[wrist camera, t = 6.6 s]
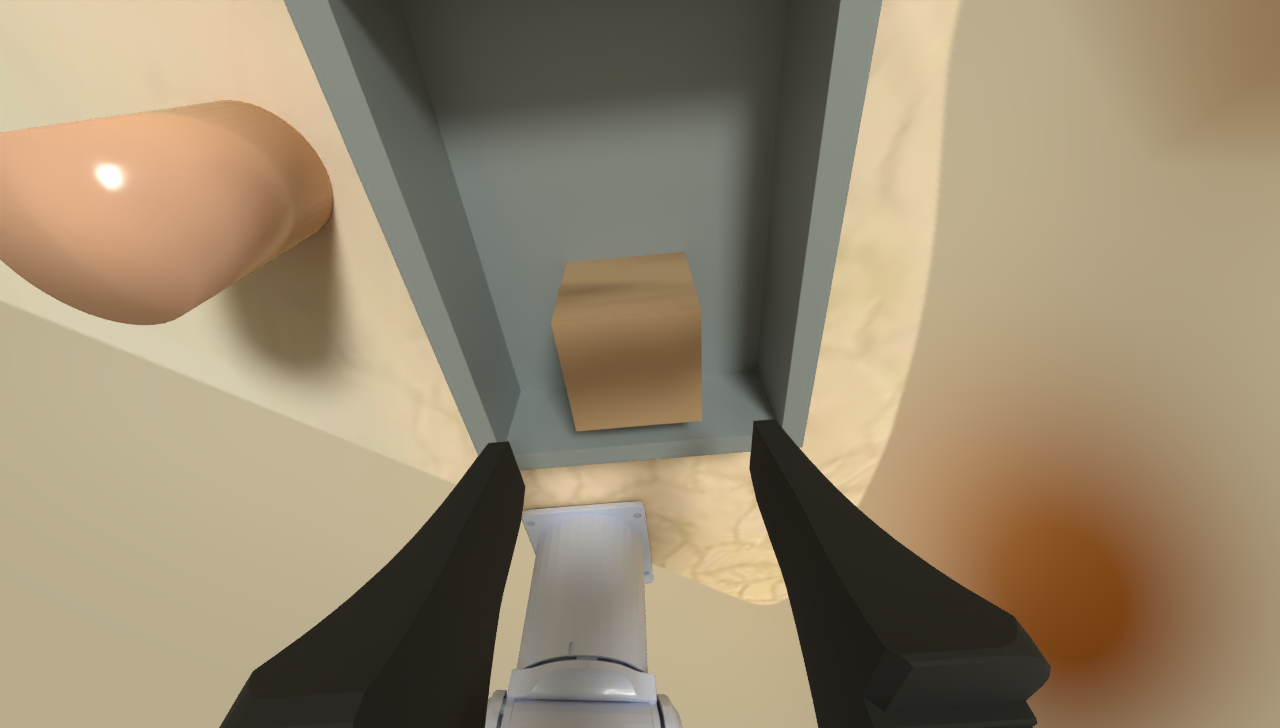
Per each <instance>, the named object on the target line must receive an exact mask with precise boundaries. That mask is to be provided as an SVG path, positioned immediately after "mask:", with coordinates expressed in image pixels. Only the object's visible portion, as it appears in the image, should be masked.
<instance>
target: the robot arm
mask: <svg viewBox="0 0 1280 728" xmlns="http://www.w3.org/2000/svg"><path fill="white" fill-rule="evenodd" d="M749 469H750V473H751V478H752V482H753V487H754V491H755V496H756V500H757V503H758V506H759V509H760V512H761V515H762V518H763V521H764V524H765V526H766V529H767V532H768V535H769V538H770V541H771V543H772V546H773V549H774V552H775V555H776V558H777V561H778V563H779V566H780V569H781V572H782V575H783V578H784V582H785V585H786V588H787V592H788V596H789V600H790V604H791V608H792V612H793V616H794V620H795V624H796V628H797V632H798V637H799V641H800V645H801V650H802V654H803V658H804V662H805V667H806V671H807V676H808V680H809V685H810V689H811V694H812V699H813V703H814V708H815V713H816V718H817V723H818V727H819V728H1033V727H1032V726H1035V725H1036V724H1037V720H1036V717H1035V716H1034V714H1033V712H1032V711H1031V709H1030V707H1029V706H1028V704H1027V702H1026V700H1027V699H1028V698H1029V697H1030V696H1032V695H1033V694H1034V693H1035V692H1036V691H1037V690H1038V689H1039V688H1040V687H1042V686H1043V684H1044V683H1045V682H1046V681H1047V680H1048V678H1049V676H1050V669H1051V667H1050V665H1049V664H1048V662H1047V661H1046V659H1045V658H1044V656H1043V655H1042V653H1041V652H1040V651H1039V649H1038V648H1037V646H1036V644H1035V643H1034V642H1033V640H1032V639H1031V637H1030V636H1029V635H1028V633H1027V632H1026V631H1025V630H1024V628H1022V626H1021V625H1020V624H1019V622H1018V621H1017V620H1016V618H1015V617H1014V616H1013V615H1010V614H1009V613H1008V612H1006V611H1004V610H1002V609H1001V608H999V607H997V606H996V605H994V604H992V603H990V602H989V601H987V600H985V599H984V598H982V597H980V596H979V595H977V594H975V593H973V592H972V591H970V590H968V589H966V588H965V587H963V586H962V585H960V584H959V583H957V582H956V581H954V580H952V579H951V578H949V577H948V576H946V575H945V574H943V573H942V572H940V571H939V570H937V569H936V568H934V567H932V566H931V565H930V564H928V563H927V562H926V561H924V560H923V559H922V558H920V557H919V556H917V555H916V554H914V553H913V552H912V551H910V550H909V549H907V548H906V547H905V546H903V545H902V544H901V543H899V542H898V541H897V540H895V539H894V538H893V537H892V536H890V535H889V534H888V533H887V532H885V531H884V530H883V529H882V528H880V527H879V526H878V525H877V524H876V523H874V522H873V521H872V520H871V519H869V518H868V517H867V516H866V515H865V514H864V513H863V512H862V511H860V510H859V509H858V508H857V507H856V506H855V505H854V504H853V503H852V502H850V501H849V500H848V499H847V498H846V497H845V496H844V495H843V494H842V493H841V492H840V491H839V490H838V489H837V488H836V487H835V486H834V485H833V484H832V483H831V482H830V481H829V480H828V479H827V478H826V477H825V476H824V475H823V474H822V473H821V472H820V471H819V469H818V468H817V467H816V466H815V465H814V464H813V463H812V462H811V461H810V460H809V459H808V457H807V456H806V455H805V454H804V453H803V452H802V451H801V449H800V448H799V447H798V446H797V445H796V444H795V442H794V441H793V440H792V439H791V438H790V436H789V435H788V434H787V433H786V431H785V430H784V429H783V428H782V426H781V425H780V424H779V423H778V422H777V421H776V420H775V419H769V420H757V421H753V432H752V444H751V456H750V468H749ZM524 493H525V485H524V482H523V479H522V476H521V473H520V471H519V468H518V465H517V462H516V459H515V457H514V454H513V451H512V448H511V446H510V443H509V441H505V442H493V443H488V444H487V445H486V447H485V448H484V449H483V451H482V452H481V453H480V455H479V456H478V457H477V459H476V460H475V461H474V463H473V464H472V465H471V467H470V468H469V469H468V471H467V472H466V473H465V475H464V476H463V477H462V479H461V480H460V481H459V483H458V484H457V485H456V487H455V488H454V489H453V491H452V492H451V493H450V494H449V496H448V497H447V498H446V500H445V501H444V502H443V503H442V504H441V506H440V507H439V508H438V509H437V510H436V512H435V513H434V514H433V515H432V516H431V517H430V518H429V520H428V521H427V522H426V523H425V524H424V525H423V527H422V528H421V529H420V530H419V531H418V532H417V534H416V535H415V536H414V537H413V538H412V539H411V540H410V541H409V542H408V543H407V544H406V545H405V546H404V547H403V549H402V550H401V551H400V552H399V553H398V554H397V555H396V556H395V557H394V558H393V559H392V560H391V561H390V562H389V563H388V564H387V565H386V566H385V567H383V568H382V569H381V570H380V571H379V572H378V573H377V574H376V575H375V576H374V577H373V578H371V579H370V580H369V581H368V582H367V583H366V584H365V585H364V586H363V587H361V588H360V589H359V590H358V591H357V592H356V593H355V594H354V595H353V596H351V597H350V598H349V599H348V600H347V601H346V602H344V603H343V604H342V605H341V606H339V607H338V608H337V609H336V610H335V611H333V612H332V613H331V614H330V615H328V616H327V617H326V618H325V619H323V620H322V621H321V622H320V623H318V624H317V625H316V626H315V627H313V628H312V629H311V630H309V631H308V632H307V633H305V634H304V635H303V636H301V637H300V638H299V639H297V640H296V641H295V642H293V643H292V644H290V645H289V646H288V647H286V648H285V649H284V650H282V651H281V652H279V653H278V654H277V655H275V656H274V657H272V658H271V659H270V660H268V661H267V662H266V663H264V664H263V665H261V666H260V667H258V668H257V669H255V670H254V671H253V672H252V674H251V675H250V677H249V679H248V680H247V682H246V684H245V685H244V687H243V689H242V690H241V692H240V694H239V695H238V697H237V699H236V700H235V702H234V704H233V705H232V707H231V709H230V711H229V712H228V714H227V716H226V717H225V719H224V721H223V723H222V724H221V726H220V727H219V728H683V727H682V723H681V719H680V716H679V714H678V712H677V710H676V709H675V708H674V706H673V705H672V703H671V701H670V699H669V698H668V697H667V696H666V695H664V694H657V693H656V675H655V674H653V673H648V669H647V642H646V617H645V590H644V584H648V583H651V582H652V581H653V570H652V562H651V554H650V546H649V538H648V531H647V523H646V515H645V507H644V504H643V503H642V502H639V501H632V502H619V503H606V504H594V505H581V506H568V507H556V508H543V509H530V510H525V511H524V512H523V513H522V511H523V503H524ZM521 518H522V521H523V524H524V526H525V529H526V531H527V534H528V536H529V539H530V541H531V544H532V547H533V549H534V552H535V554H536V559H535V565H534V570H533V576H532V582H531V588H530V594H529V600H528V605H527V611H526V618H525V623H524V629H523V635H522V641H521V647H520V652H519V658H518V664H517V669H513V670H512V673H511V679H510V684H509V689H508V695H507V691H506V690H496V691H495V692H494V693H493V695H492V697H490V698H489V699H488V695H489V685H490V676H491V668H492V661H493V653H494V646H495V639H496V632H497V625H498V619H499V612H500V606H501V602H502V596H503V592H504V588H505V584H506V580H507V576H508V572H509V568H510V564H511V560H512V556H513V552H514V548H515V544H516V540H517V536H518V531H519V527H520V523H521Z"/></svg>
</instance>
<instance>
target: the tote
mask: <svg viewBox="0 0 1280 728" xmlns="http://www.w3.org/2000/svg"><path fill="white" fill-rule="evenodd" d="M284 2H285V5H286V7H287V9H288V12H289V14H290V16H291V19H292V21H293V23H294V26H295V28H296V30H297V33H298V35H299V37H300V40H301V42H302V44H303V47H304V49H305V51H306V54H307V56H308V58H309V61H310V63H311V65H312V68H313V70H314V73H315V75H316V77H317V80H318V82H319V84H320V87H321V89H322V91H323V94H324V96H325V98H326V101H327V103H328V105H329V108H330V110H331V112H332V115H333V117H334V119H335V122H336V124H337V126H338V129H339V131H340V133H341V136H342V138H343V140H344V143H345V145H346V147H347V150H348V152H349V154H350V157H351V159H352V161H353V164H354V166H355V168H356V171H357V173H358V175H359V178H360V180H361V182H362V185H363V187H364V190H365V192H366V194H367V197H368V199H369V201H370V204H371V206H372V208H373V211H374V213H375V215H376V218H377V220H378V222H379V225H380V227H381V229H382V232H383V234H384V236H385V239H386V241H387V243H388V246H389V248H390V250H391V253H392V255H393V257H394V260H395V262H396V264H397V267H398V269H399V271H400V274H401V276H402V278H403V281H404V283H405V285H406V288H407V290H408V292H409V295H410V297H411V299H412V302H413V304H414V307H415V309H416V311H417V314H418V316H419V318H420V321H421V323H422V325H423V328H424V330H425V332H426V335H427V337H428V339H429V342H430V344H431V346H432V349H433V351H434V353H435V356H436V358H437V360H438V363H439V365H440V367H441V370H442V372H443V374H444V377H445V379H446V381H447V384H448V386H449V388H450V391H451V393H452V395H453V398H454V400H455V402H456V405H457V407H458V409H459V412H460V414H461V416H462V419H463V421H464V424H465V426H466V428H467V431H468V433H469V435H470V438H471V440H472V442H473V445H474V447H475V449H476V452H477V454H478V456H479V455H480V453H481V452H482V451H483V449H484V448H485V447H486V445H487V444H488V443H493V442H505V441H509V443H510V446H511V448H512V451H513V454H514V457H515V459H516V462H517V465H518V468H519V470H528V469H541V468H553V467H565V466H578V465H590V464H602V463H615V462H627V461H639V460H652V459H664V458H676V457H688V456H701V455H713V454H725V453H738V452H750V451H751V444H752V432H753V421H757V420H769V419H775V420H776V421H777V422H778V423H779V424H780V425H781V426H782V428H783V429H784V430H785V431H786V433H787V434H788V435H789V436H790V438H791V439H792V440H793V441H794V442H795V444H796V445H797V446H798V447H802V446H803V440H804V435H805V429H806V424H807V418H808V413H809V407H810V401H811V396H812V390H813V385H814V379H815V373H816V368H817V362H818V357H819V351H820V345H821V340H822V334H823V329H824V323H825V318H826V312H827V306H828V301H829V295H830V290H831V284H832V278H833V273H834V267H835V262H836V256H837V250H838V245H839V239H840V234H841V228H842V223H843V217H844V211H845V206H846V200H847V195H848V189H849V183H850V178H851V172H852V167H853V161H854V155H855V150H856V144H857V139H858V133H859V127H860V122H861V116H862V111H863V105H864V100H865V94H866V88H867V83H868V77H869V72H870V66H871V60H872V55H873V49H874V44H875V38H876V32H877V27H878V21H879V16H880V10H881V5H882V0H284ZM676 252H685V255H686V259H687V262H688V265H689V269H690V272H691V276H692V279H693V283H694V286H695V289H696V293H697V296H698V300H699V303H700V307H701V337H702V421H694V422H682V423H671V424H659V425H647V426H635V427H623V428H611V429H600V430H588V431H576V428H575V424H574V419H573V415H572V411H571V407H570V402H569V398H568V394H567V390H566V385H565V381H564V377H563V373H562V368H561V364H560V360H559V356H558V351H557V347H556V343H555V339H554V334H553V330H552V326H551V320H552V316H553V313H554V309H555V305H556V301H557V297H558V293H559V289H560V286H561V282H562V278H563V274H564V270H565V266H566V263H570V262H581V261H592V260H602V259H613V258H623V257H634V256H644V255H655V254H666V253H676Z"/></svg>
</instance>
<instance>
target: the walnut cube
mask: <svg viewBox="0 0 1280 728" xmlns="http://www.w3.org/2000/svg"><path fill="white" fill-rule="evenodd" d="M551 326H552V330H553V334H554V339H555V343H556V347H557V351H558V356H559V360H560V364H561V368H562V373H563V377H564V381H565V385H566V390H567V394H568V398H569V402H570V407H571V411H572V415H573V419H574V424H575V428H576V431H588V430H600V429H611V428H623V427H635V426H647V425H659V424H671V423H682V422H694V421H702V337H701V307H700V303H699V300H698V296H697V293H696V289H695V286H694V283H693V279H692V276H691V272H690V269H689V265H688V262H687V259H686V255H685V252H676V253H666V254H655V255H644V256H634V257H623V258H613V259H602V260H592V261H581V262H570V263H566V266H565V270H564V274H563V278H562V282H561V286H560V289H559V293H558V297H557V301H556V305H555V309H554V313H553V316H552V320H551Z"/></svg>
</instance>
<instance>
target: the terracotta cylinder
mask: <svg viewBox="0 0 1280 728" xmlns="http://www.w3.org/2000/svg"><path fill="white" fill-rule="evenodd" d="M332 207H333V191H332V186H331V182H330V178H329V176H328V173H327V171H326V169H325V167H324V165H323V163H322V161H321V159H320V158H319V156H318V155H317V153H316V152H315V150H314V149H313V148H312V147H311V145H310V144H309V143H308V142H307V141H306V140H305V138H304V137H303V136H302V135H301V134H300V133H299V132H297V131H296V130H295V129H294V128H293V127H292V126H291V125H289V124H288V123H286V122H285V121H284V120H282V119H281V118H279V117H278V116H276V115H274V114H273V113H271V112H269V111H267V110H265V109H263V108H260V107H258V106H255V105H252V104H249V103H245V102H241V101H232V100H225V101H215V102H208V103H201V104H194V105H187V106H180V107H173V108H167V109H160V110H153V111H146V112H139V113H132V114H125V115H118V116H111V117H104V118H97V119H91V120H84V121H77V122H70V123H63V124H56V125H49V126H42V127H35V128H28V129H21V130H15V131H8V132H1V133H0V259H1V260H2V261H3V262H4V263H5V264H6V265H7V266H9V267H10V268H11V269H12V270H13V271H15V272H16V273H17V274H18V275H20V276H21V277H22V278H24V279H25V280H27V281H28V282H29V283H31V284H32V285H34V286H35V287H37V288H38V289H40V290H42V291H43V292H45V293H46V294H48V295H50V296H52V297H54V298H55V299H57V300H59V301H61V302H63V303H65V304H67V305H69V306H71V307H73V308H76V309H78V310H81V311H83V312H86V313H88V314H91V315H94V316H97V317H100V318H103V319H107V320H111V321H115V322H120V323H126V324H135V325H155V324H161V323H166V322H169V321H172V320H175V319H176V318H178V317H180V316H182V315H184V314H185V313H187V312H189V311H190V310H192V309H193V308H195V307H197V306H198V305H200V304H201V303H203V302H205V301H206V300H208V299H210V298H211V297H213V296H214V295H216V294H218V293H219V292H221V291H222V290H224V289H226V288H227V287H229V286H231V285H232V284H234V283H235V282H237V281H239V280H240V279H242V278H243V277H245V276H247V275H248V274H250V273H252V272H253V271H255V270H256V269H258V268H260V267H261V266H263V265H264V264H266V263H268V262H269V261H271V260H273V259H274V258H276V257H277V256H279V255H281V254H282V253H284V252H286V251H287V250H289V249H290V248H292V247H294V246H295V245H297V244H298V243H300V242H302V241H303V240H305V239H307V238H308V237H310V236H311V235H313V234H315V233H316V232H318V231H319V230H320V229H321V228H322V227H323V226H324V225H325V224H326V223H327V221H328V219H329V217H330V215H331V212H332Z"/></svg>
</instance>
